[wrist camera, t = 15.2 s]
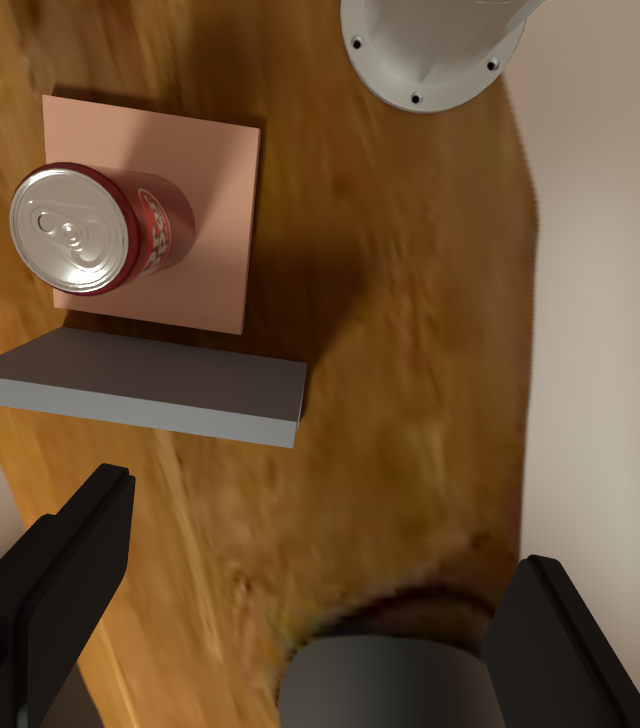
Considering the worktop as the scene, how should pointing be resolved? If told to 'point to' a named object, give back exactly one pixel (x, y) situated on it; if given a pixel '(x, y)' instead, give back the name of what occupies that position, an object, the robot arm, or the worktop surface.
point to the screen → (156, 385)
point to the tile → (199, 185)
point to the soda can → (98, 226)
